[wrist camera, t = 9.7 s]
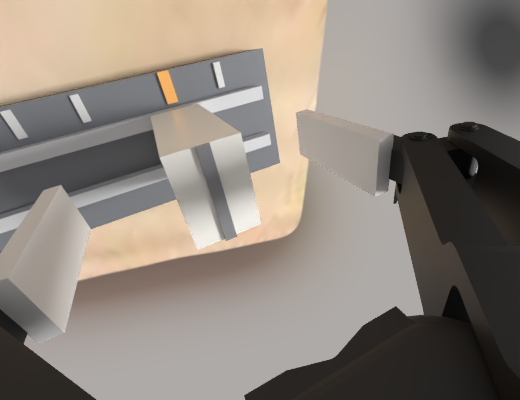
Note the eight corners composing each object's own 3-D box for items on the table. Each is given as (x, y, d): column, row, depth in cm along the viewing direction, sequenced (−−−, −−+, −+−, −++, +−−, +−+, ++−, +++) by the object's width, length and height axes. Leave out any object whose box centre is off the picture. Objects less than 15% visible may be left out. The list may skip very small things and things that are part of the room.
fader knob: (149, 113, 19) (159, 159, 10) (195, 101, 20) (242, 133, 11) (173, 173, 22) (198, 252, 13) (212, 160, 23) (262, 225, 14)
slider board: (-168, 144, 16) (-234, 161, 13) (251, 49, 23) (267, 47, 20) (-40, 261, 21) (-68, 291, 18) (269, 155, 28) (284, 165, 25)
